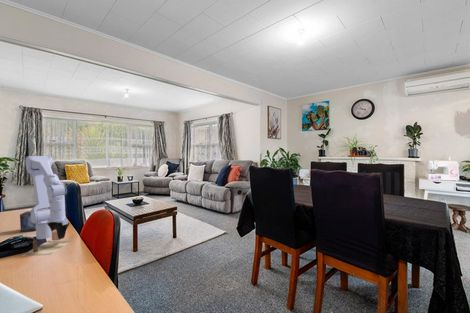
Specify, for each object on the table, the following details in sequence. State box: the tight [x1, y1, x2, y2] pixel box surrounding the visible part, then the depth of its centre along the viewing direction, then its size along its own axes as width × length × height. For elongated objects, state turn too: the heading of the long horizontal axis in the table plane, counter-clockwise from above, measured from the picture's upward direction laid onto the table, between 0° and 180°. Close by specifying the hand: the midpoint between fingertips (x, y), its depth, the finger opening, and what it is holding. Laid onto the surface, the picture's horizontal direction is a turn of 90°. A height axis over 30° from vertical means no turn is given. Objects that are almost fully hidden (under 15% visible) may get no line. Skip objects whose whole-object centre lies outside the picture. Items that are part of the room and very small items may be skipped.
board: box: [20, 239, 73, 257], centre depth 104 cm, size 16×12×6 cm
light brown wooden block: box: [51, 230, 67, 241], centre depth 107 cm, size 5×5×4 cm
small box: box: [19, 210, 36, 233], centre depth 131 cm, size 11×6×10 cm, turn 105°
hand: (58, 237), depth 107 cm, fingers closed on light brown wooden block, 5 cm apart
